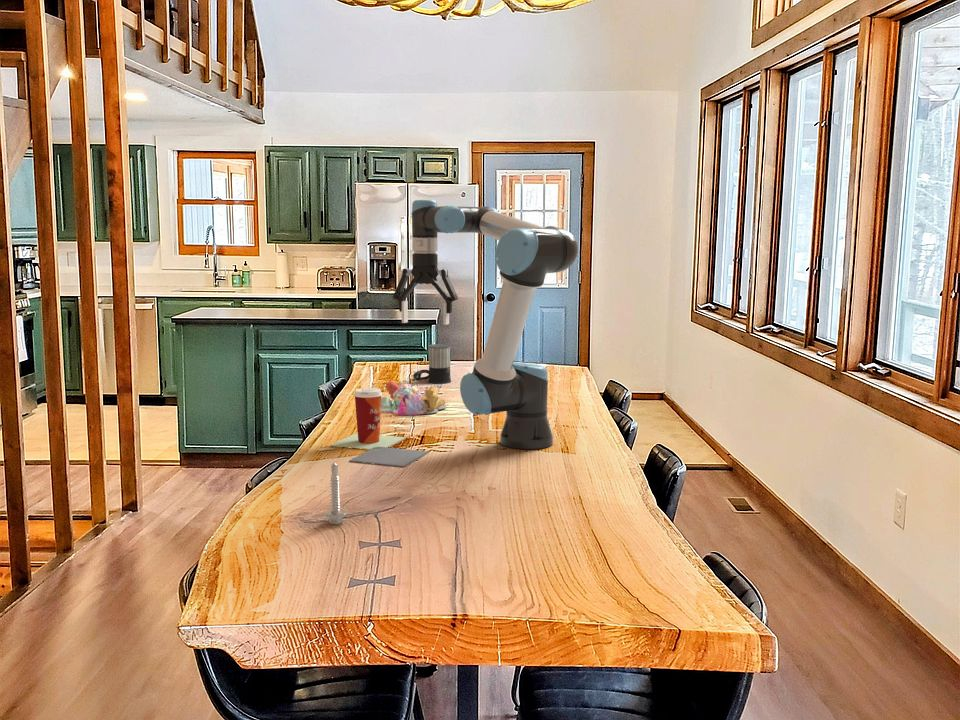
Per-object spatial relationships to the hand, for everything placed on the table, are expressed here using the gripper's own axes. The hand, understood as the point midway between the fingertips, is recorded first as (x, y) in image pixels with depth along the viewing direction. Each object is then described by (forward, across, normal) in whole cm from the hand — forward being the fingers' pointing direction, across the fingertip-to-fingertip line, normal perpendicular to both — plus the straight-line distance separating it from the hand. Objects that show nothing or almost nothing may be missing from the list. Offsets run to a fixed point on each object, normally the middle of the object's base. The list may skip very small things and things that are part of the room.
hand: (425, 323), depth 271 cm
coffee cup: (+32, -9, -21) cm, 40 cm away
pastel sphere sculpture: (+33, -18, +28) cm, 47 cm away
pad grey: (+33, +4, -34) cm, 47 cm away
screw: (+33, +17, -87) cm, 95 cm away
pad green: (+33, -9, -21) cm, 40 cm away
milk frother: (+33, -33, +82) cm, 94 cm away
